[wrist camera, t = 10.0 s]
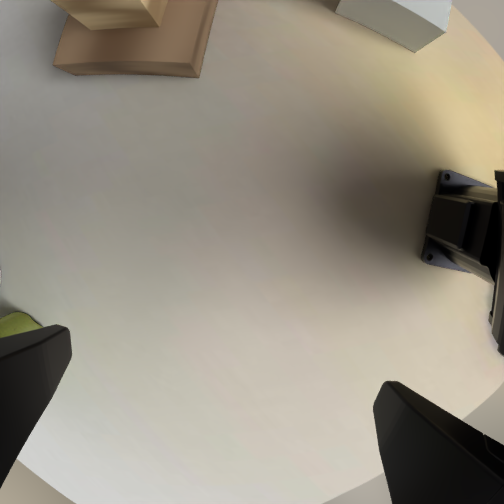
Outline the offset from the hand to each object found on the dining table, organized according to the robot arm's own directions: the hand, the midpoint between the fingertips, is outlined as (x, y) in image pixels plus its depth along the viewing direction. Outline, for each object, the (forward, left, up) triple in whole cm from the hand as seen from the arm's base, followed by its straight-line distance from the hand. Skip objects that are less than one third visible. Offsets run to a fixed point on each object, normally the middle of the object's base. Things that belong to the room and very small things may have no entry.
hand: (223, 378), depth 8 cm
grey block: (-4, -19, -10) cm, 22 cm away
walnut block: (+9, -15, -12) cm, 21 cm away
